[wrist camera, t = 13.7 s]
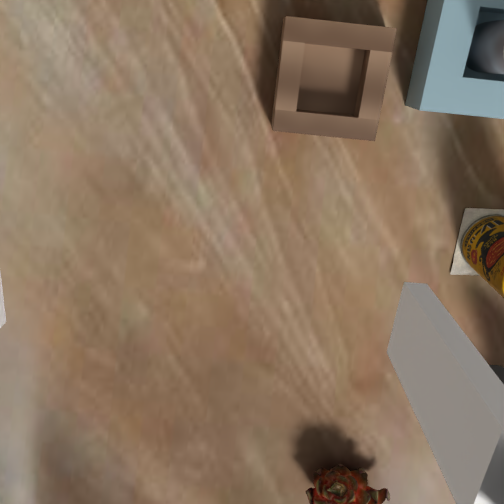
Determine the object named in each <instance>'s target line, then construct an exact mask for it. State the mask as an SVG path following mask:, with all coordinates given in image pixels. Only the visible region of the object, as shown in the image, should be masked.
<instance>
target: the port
mask: <svg viewBox="0 0 504 504" xmlns="http://www.w3.org/2000/svg"><path fill="white" fill-rule="evenodd" d="M497 20H504V0H427V5H426V10H425V14H424V19H423V24H422V28H421V33H420V38H419V43H418V47H417V52H416V57H415V61H414V66H413V71H412V75H411V80H410V85H409V89H408V94H407V99H406V103H405V105H406V106H409V107H412V108H415V109H417V110H422V111H432V112H442V113H451V114H461V115H471V116H481V117H490V118H500V119H504V74H494V73H483V72H476V71H473V70H471V69H470V68H468V67H467V66H466V61H467V57H468V53H469V49H470V45H471V41H472V37H473V33H474V30H475V26H477V25H478V24H481V23H483V22H489V21H497Z"/></svg>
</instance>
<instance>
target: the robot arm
mask: <svg viewBox="0 0 504 504" xmlns="http://www.w3.org/2000/svg"><path fill="white" fill-rule="evenodd" d="M5 322H6V316H5V307H4V299H3V290H2V281H1V273H0V328H1V327H2V326H3V325H4V324H5ZM387 354H388V356H389V358H390V360H391V362H392V365H393V367H394V369H395V371H396V373H397V376H398V378H399V380H400V382H401V384H402V386H403V389H404V391H405V393H406V395H407V397H408V400H409V402H410V404H411V406H412V408H413V410H414V413H415V415H416V417H417V419H418V421H419V424H420V426H421V428H422V430H423V432H424V434H425V437H426V439H427V441H428V443H429V445H430V448H431V450H432V452H433V454H434V456H435V458H436V461H437V463H438V465H439V467H440V469H441V472H442V474H443V476H444V478H445V480H446V483H447V485H448V487H449V489H450V491H451V493H452V496H453V498H454V500H455V502H456V504H504V368H503V367H502V366H498V365H488V363H487V362H486V361H485V359H484V358H483V357H482V355H481V354H480V353H479V352H478V350H477V349H476V348H475V346H474V345H473V344H472V342H471V341H470V340H469V338H468V337H467V336H466V334H465V333H464V332H463V331H462V329H461V328H460V327H459V325H458V324H457V323H456V321H455V320H454V319H453V317H452V316H451V315H450V314H449V312H448V311H447V310H446V308H445V307H444V306H443V304H442V303H441V302H440V300H439V299H438V298H437V297H436V295H435V294H434V293H433V291H432V290H431V289H430V287H429V286H428V285H427V284H422V283H411V282H404V284H403V288H402V292H401V296H400V300H399V304H398V309H397V313H396V317H395V321H394V325H393V329H392V333H391V337H390V341H389V345H388V349H387Z"/></svg>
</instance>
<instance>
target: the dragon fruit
mask: <svg viewBox="0 0 504 504" xmlns="http://www.w3.org/2000/svg"><path fill="white" fill-rule="evenodd" d="M314 486H315V488H309V489H308V490H306V494H307V496H308V500H309V503H310V504H382V503H383V502H384V501H385V499H386V498H387V500H388V501H389V500H390V494H389V491H388V489H385V488H383V489H381V490H375V489H373V488H371V487H368V486H367V473H366V472H365V471H364V470H363V469H361V468H359V470H354V471H349V469H348V468H346V467H345V466H344V465H342V464H337V465H336V466H335V467H334V468H332V469H330V470H329V471H328V470H326V469H324V468H320V469H319V470H317V471H316V472H314Z"/></svg>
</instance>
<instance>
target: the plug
mask: <svg viewBox="0 0 504 504" xmlns="http://www.w3.org/2000/svg"><path fill="white" fill-rule="evenodd" d="M466 66H467V67H468V68H470V69H471V70H473V71H476V72H483V73H494V74H504V20H497V21H489V22H483V23H481V24H478V25H477V26H475V30H474V33H473V37H472V41H471V45H470V49H469V53H468V57H467V61H466Z"/></svg>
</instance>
